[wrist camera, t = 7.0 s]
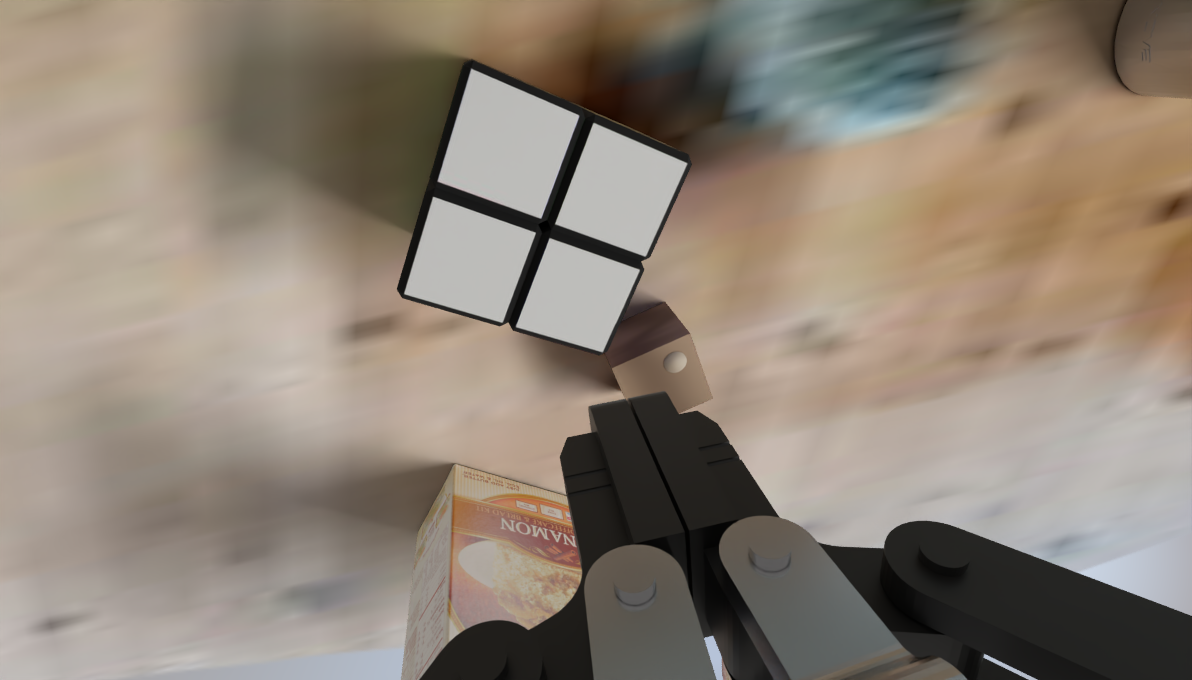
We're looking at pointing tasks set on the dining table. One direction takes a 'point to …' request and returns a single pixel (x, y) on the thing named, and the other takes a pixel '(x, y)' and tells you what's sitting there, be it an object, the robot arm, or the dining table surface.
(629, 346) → the walnut block
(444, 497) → the coffeecake box
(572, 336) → the puzzle cube
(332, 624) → the dining table surface
